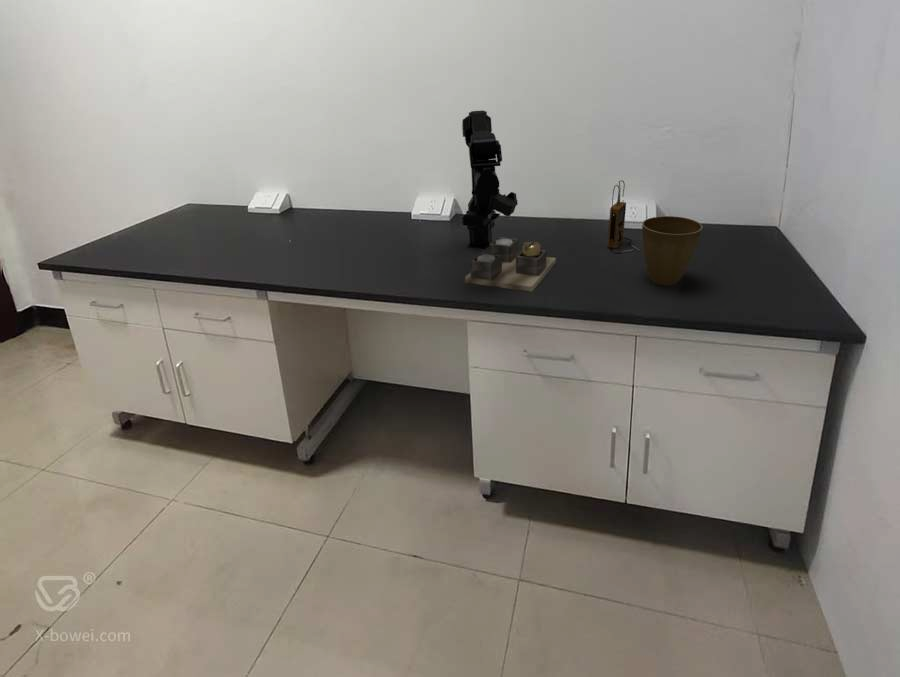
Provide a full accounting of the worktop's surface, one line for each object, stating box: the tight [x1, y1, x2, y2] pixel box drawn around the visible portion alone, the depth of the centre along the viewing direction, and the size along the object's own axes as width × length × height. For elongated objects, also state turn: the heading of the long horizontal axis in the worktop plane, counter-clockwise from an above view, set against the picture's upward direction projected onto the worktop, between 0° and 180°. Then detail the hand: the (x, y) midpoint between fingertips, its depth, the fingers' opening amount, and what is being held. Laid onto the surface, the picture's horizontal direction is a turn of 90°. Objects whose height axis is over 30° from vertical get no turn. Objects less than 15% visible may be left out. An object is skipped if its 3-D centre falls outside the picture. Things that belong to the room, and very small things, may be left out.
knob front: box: [477, 255, 495, 263], centre depth 169 cm, size 5×5×5 cm
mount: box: [464, 236, 557, 293], centre depth 173 cm, size 20×22×6 cm
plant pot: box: [641, 215, 703, 287], centre depth 160 cm, size 15×15×16 cm
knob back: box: [496, 239, 512, 246], centre depth 180 cm, size 5×5×5 cm
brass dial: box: [521, 241, 541, 258], centre depth 169 cm, size 5×5×5 cm
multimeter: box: [607, 180, 640, 255], centre depth 183 cm, size 15×10×20 cm
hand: (486, 240), depth 167 cm, fingers closed
